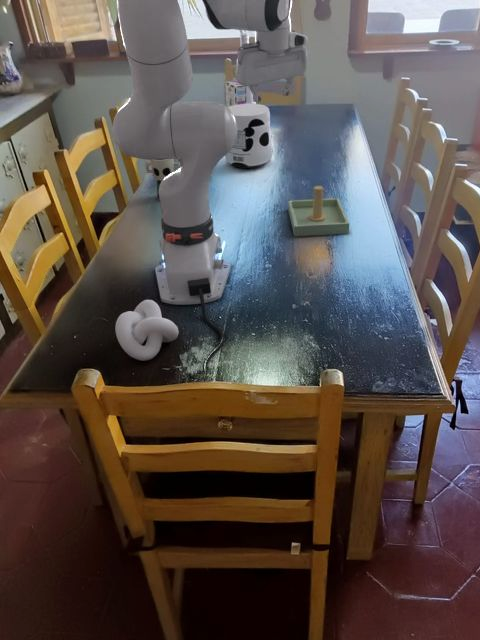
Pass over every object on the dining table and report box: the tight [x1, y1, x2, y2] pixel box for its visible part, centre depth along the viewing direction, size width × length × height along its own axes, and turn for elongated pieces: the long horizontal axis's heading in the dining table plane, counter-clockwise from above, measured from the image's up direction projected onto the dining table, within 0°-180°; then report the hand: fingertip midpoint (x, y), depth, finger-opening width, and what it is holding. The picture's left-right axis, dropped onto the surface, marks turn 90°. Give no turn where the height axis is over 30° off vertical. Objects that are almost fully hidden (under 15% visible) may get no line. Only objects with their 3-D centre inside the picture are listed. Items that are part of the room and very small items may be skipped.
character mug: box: [144, 159, 181, 199], centre depth 162 cm, size 11×7×13 cm, turn 87°
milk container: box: [224, 103, 274, 169], centre depth 182 cm, size 17×17×18 cm
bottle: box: [236, 32, 257, 104], centre depth 233 cm, size 8×8×30 cm
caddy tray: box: [287, 185, 350, 237], centre depth 147 cm, size 17×15×10 cm
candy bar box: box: [224, 80, 246, 107], centre depth 217 cm, size 11×5×16 cm, turn 25°
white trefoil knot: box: [114, 299, 180, 362], centre depth 104 cm, size 11×12×9 cm
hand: (271, 98), depth 139 cm, fingers open, 8 cm apart
